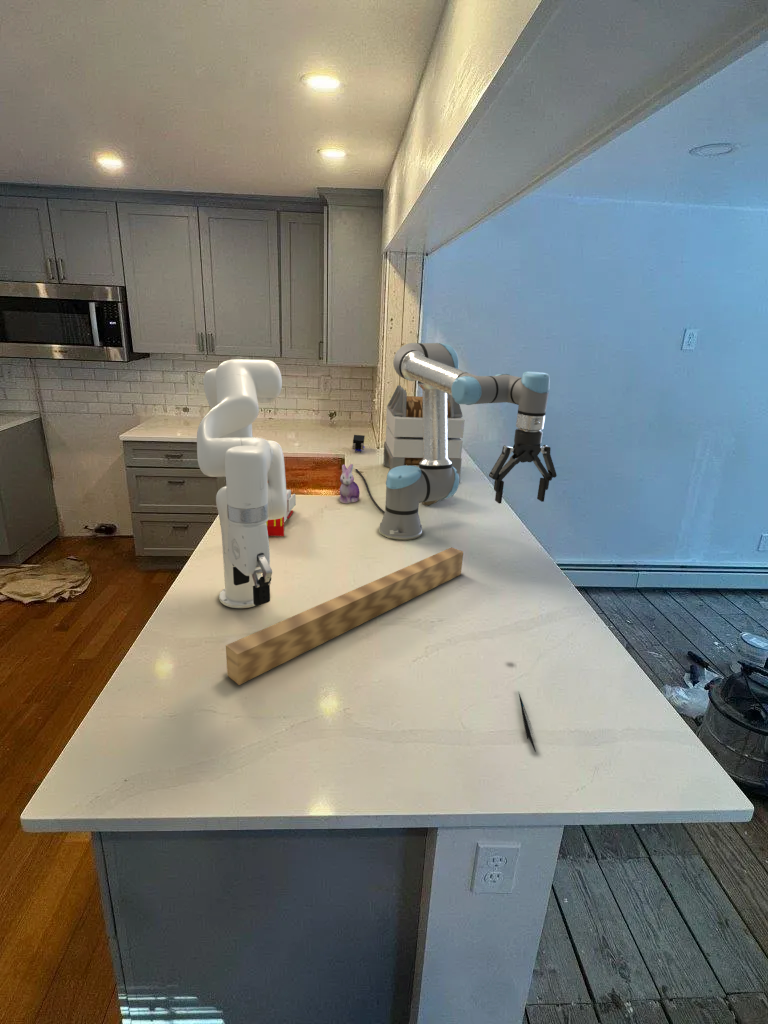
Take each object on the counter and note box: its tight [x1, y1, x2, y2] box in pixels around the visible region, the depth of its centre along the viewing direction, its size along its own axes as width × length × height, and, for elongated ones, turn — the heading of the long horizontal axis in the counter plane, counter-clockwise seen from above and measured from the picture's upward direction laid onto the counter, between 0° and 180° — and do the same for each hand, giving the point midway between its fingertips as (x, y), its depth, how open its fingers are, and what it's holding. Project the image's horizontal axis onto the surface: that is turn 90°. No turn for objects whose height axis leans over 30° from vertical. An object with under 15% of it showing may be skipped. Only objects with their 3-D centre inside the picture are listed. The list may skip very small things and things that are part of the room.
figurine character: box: [351, 434, 365, 454], centre depth 311 cm, size 7×8×15 cm
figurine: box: [338, 463, 361, 504], centre depth 229 cm, size 9×10×15 cm
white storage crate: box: [383, 384, 465, 483], centre depth 268 cm, size 34×33×41 cm
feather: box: [517, 691, 537, 753], centre depth 115 cm, size 2×28×2 cm
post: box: [225, 547, 464, 686], centre depth 144 cm, size 78×4×8 cm, turn 137°
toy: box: [266, 489, 297, 537], centre depth 204 cm, size 12×13×30 cm
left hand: (251, 593), depth 113 cm, fingers open, 9 cm apart
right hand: (519, 501), depth 166 cm, fingers open, 13 cm apart
